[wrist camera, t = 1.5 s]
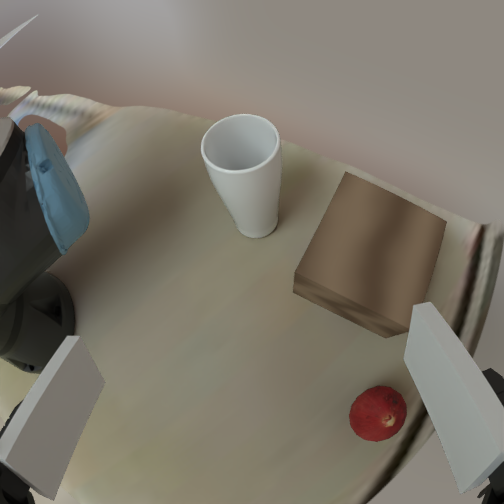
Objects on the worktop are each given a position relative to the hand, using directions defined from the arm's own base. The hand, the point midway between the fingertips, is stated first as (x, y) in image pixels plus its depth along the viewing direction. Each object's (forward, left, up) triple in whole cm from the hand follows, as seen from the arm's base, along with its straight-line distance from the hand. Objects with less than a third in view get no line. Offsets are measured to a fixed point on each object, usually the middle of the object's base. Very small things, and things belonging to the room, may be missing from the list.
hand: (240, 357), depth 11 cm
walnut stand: (+5, +14, -23) cm, 27 cm away
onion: (+13, 0, -23) cm, 26 cm away
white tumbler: (-9, +14, -23) cm, 28 cm away
